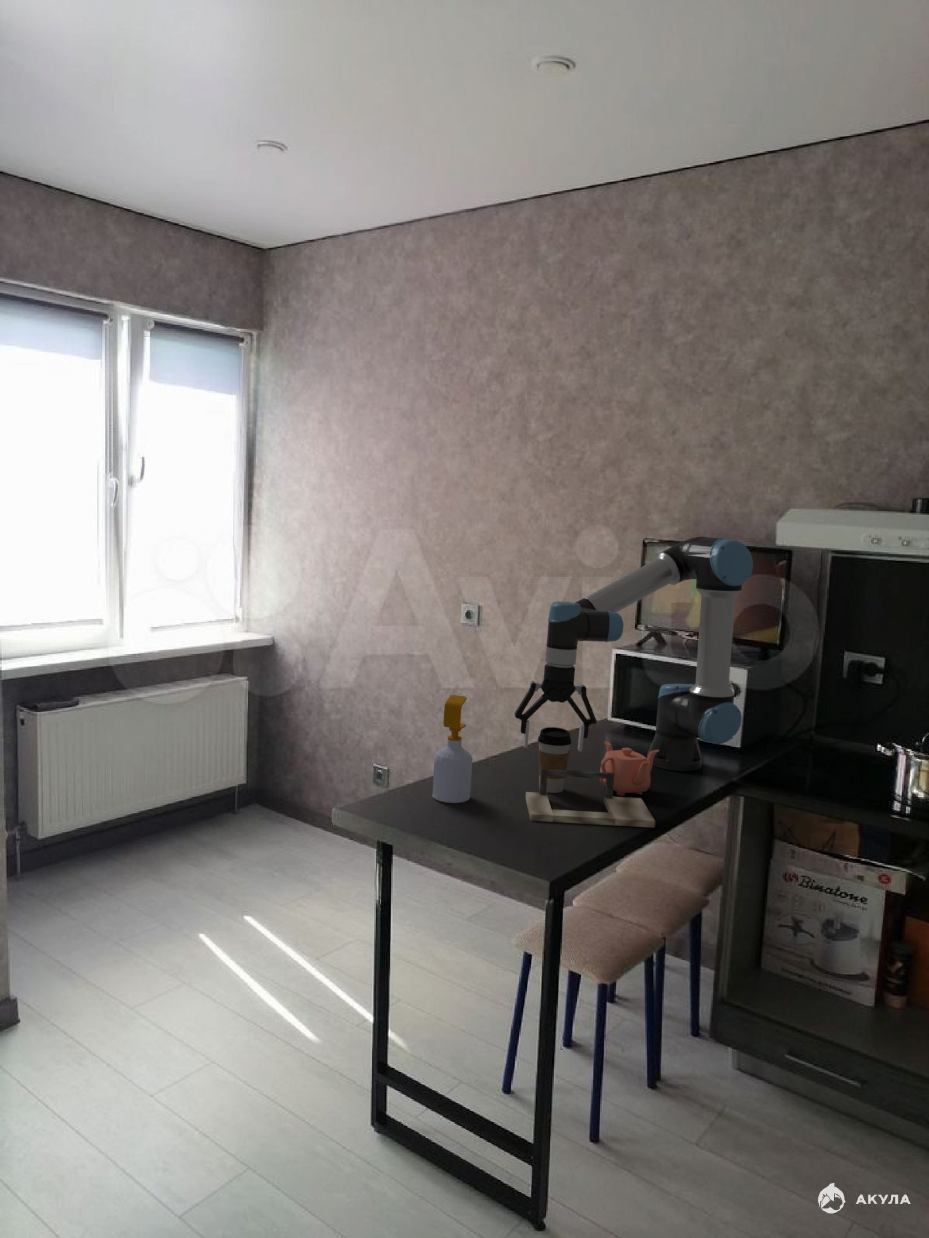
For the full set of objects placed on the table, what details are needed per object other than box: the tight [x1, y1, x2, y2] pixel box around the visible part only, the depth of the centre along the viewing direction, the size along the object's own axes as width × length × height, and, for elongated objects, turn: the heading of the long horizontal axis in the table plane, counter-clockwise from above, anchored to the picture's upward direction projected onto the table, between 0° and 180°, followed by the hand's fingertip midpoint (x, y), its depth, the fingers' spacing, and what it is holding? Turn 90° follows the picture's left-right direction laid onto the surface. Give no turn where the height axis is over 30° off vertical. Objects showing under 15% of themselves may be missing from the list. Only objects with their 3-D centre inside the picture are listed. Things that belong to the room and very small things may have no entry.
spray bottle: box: [431, 694, 473, 804], centre depth 216 cm, size 9×9×25 cm
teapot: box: [599, 740, 659, 797], centre depth 230 cm, size 14×14×11 cm
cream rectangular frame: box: [525, 769, 656, 828], centre depth 212 cm, size 28×16×8 cm, turn 90°
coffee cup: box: [537, 726, 572, 794], centre depth 228 cm, size 8×8×15 cm
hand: (552, 748), depth 227 cm, fingers open, 13 cm apart
